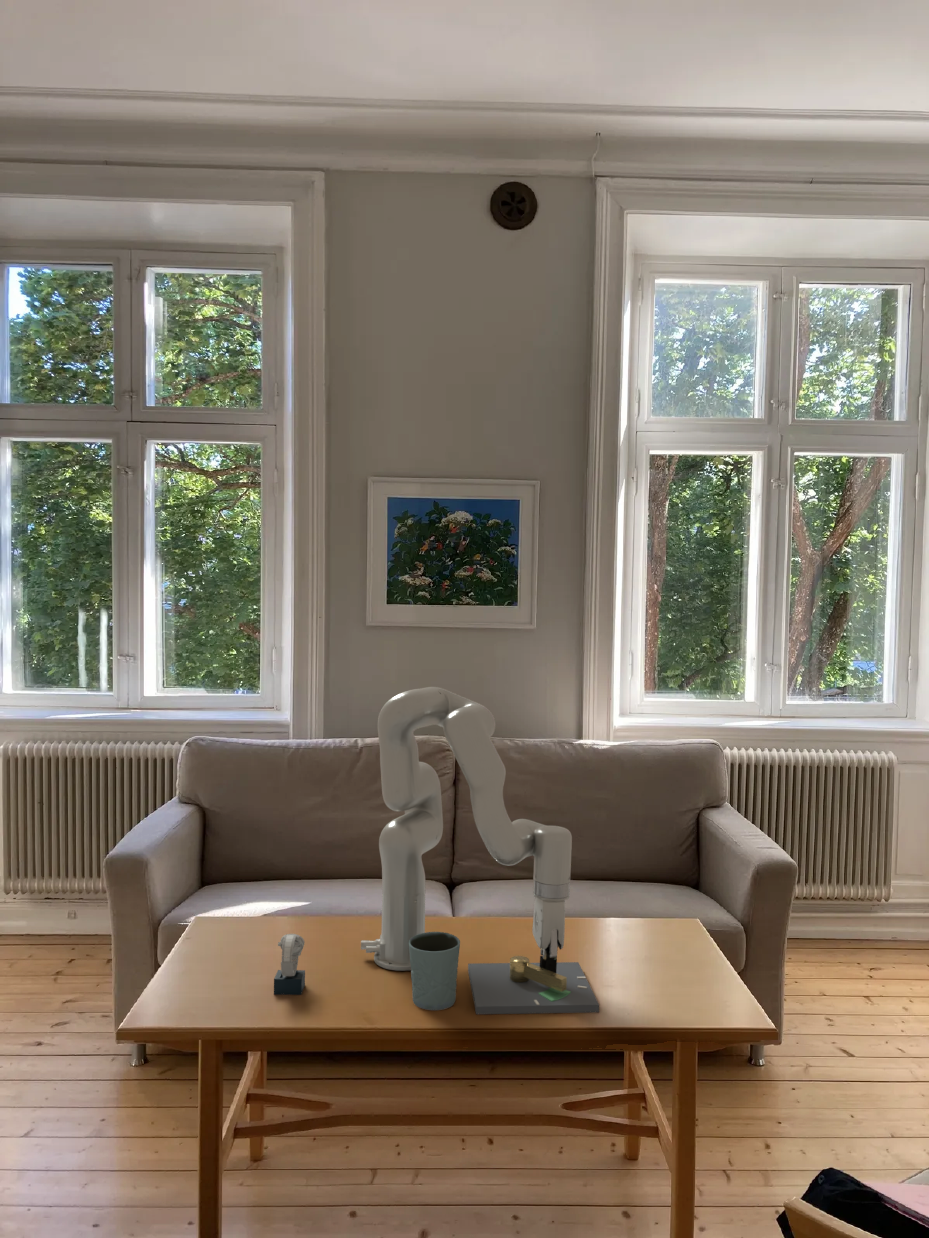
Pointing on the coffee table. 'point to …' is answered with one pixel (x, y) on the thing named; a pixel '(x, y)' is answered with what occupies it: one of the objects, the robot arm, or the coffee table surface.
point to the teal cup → (434, 969)
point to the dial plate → (529, 991)
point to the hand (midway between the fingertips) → (547, 976)
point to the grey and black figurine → (290, 967)
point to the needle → (535, 974)
